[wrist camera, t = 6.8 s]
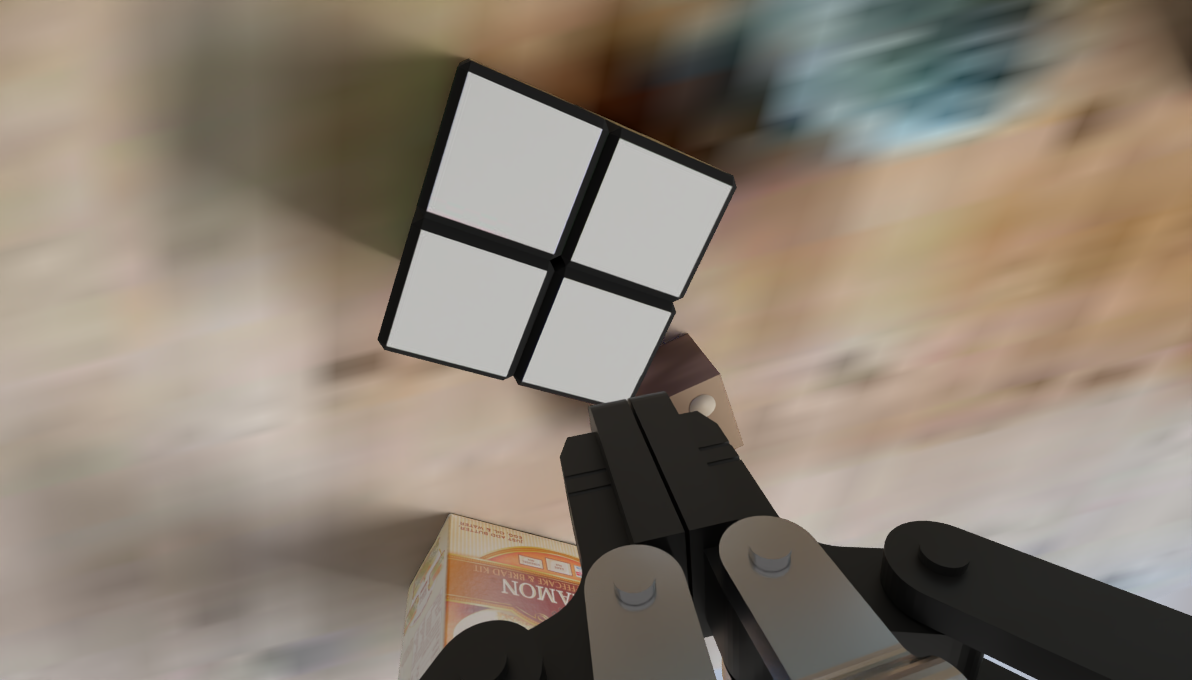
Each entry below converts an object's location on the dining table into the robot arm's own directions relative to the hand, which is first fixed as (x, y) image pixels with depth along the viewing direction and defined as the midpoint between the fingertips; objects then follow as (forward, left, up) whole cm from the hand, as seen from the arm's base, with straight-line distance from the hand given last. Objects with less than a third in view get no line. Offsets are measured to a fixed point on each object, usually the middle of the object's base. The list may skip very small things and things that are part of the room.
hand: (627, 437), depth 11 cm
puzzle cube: (0, 0, -20) cm, 20 cm away
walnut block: (-6, +12, -20) cm, 24 cm away
